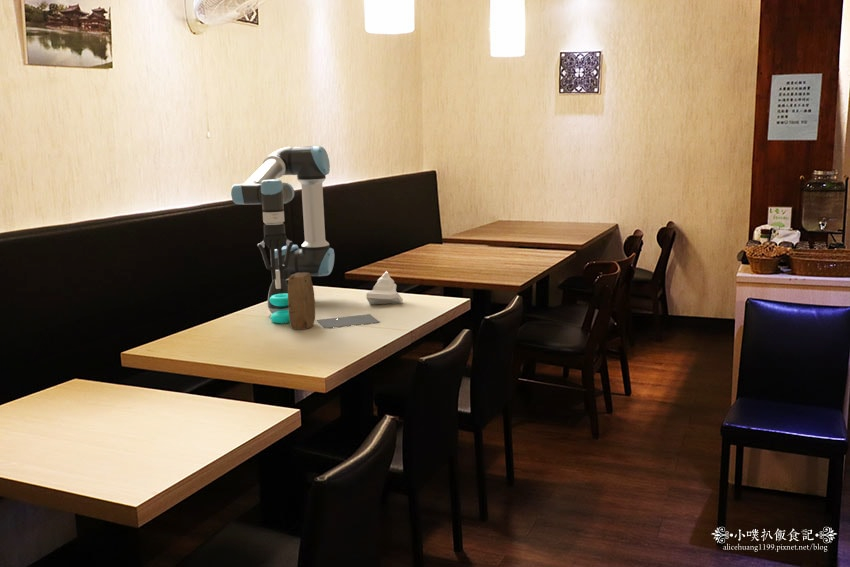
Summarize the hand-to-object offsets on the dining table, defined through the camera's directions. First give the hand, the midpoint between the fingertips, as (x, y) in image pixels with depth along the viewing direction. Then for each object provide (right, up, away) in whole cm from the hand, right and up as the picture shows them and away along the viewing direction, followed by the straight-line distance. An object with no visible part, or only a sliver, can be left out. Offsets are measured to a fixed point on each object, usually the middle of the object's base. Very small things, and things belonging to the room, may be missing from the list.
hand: (278, 288), depth 287 cm
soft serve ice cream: (+37, -7, +41) cm, 55 cm away
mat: (+24, -13, +11) cm, 30 cm away
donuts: (-1, -13, +15) cm, 20 cm away
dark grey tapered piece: (-3, -11, +26) cm, 28 cm away
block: (+8, -15, +6) cm, 18 cm away
